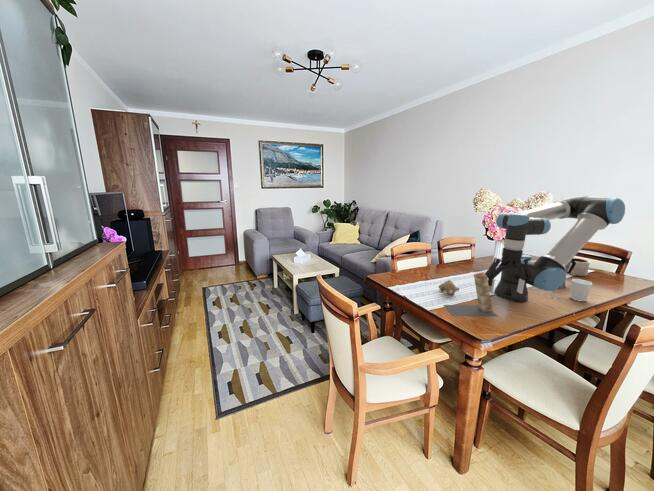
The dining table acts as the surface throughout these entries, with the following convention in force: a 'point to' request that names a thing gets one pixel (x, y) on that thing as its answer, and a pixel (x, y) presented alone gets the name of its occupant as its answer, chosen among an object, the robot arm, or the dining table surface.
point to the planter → (580, 267)
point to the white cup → (580, 289)
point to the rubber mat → (467, 310)
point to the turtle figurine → (448, 287)
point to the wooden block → (483, 292)
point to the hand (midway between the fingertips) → (504, 292)
